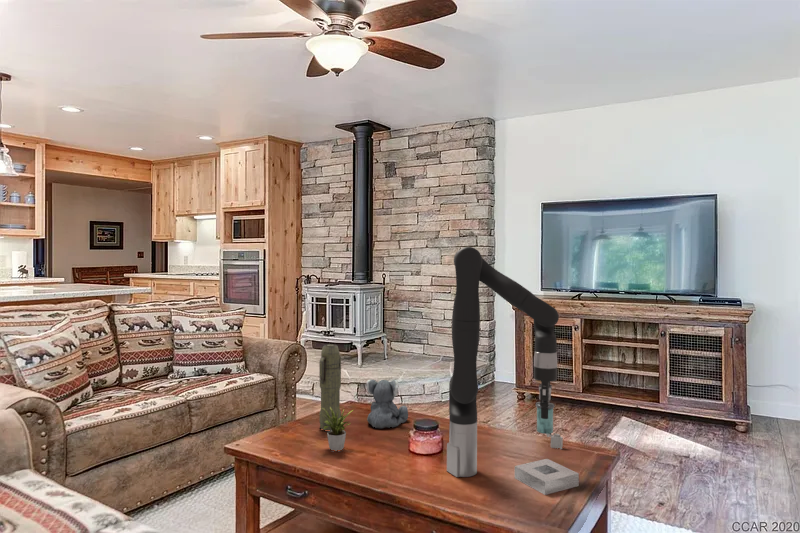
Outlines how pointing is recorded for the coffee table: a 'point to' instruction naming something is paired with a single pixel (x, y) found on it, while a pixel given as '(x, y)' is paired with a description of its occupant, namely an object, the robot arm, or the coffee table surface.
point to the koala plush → (385, 404)
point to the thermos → (330, 383)
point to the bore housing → (546, 476)
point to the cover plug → (545, 424)
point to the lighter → (556, 440)
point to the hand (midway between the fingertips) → (545, 415)
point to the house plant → (336, 430)
